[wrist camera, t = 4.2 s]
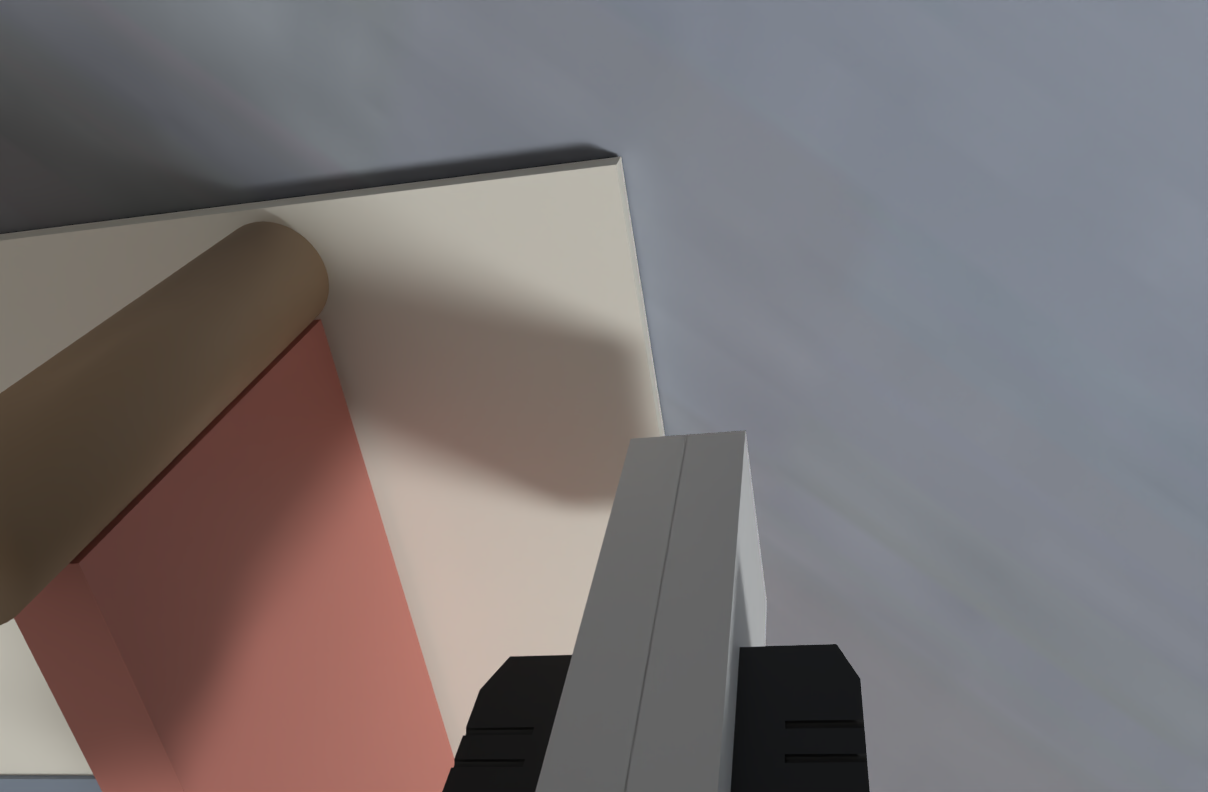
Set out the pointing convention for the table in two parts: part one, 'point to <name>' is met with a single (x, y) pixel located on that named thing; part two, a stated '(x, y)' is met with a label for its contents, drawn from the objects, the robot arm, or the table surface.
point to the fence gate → (213, 544)
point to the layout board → (408, 399)
